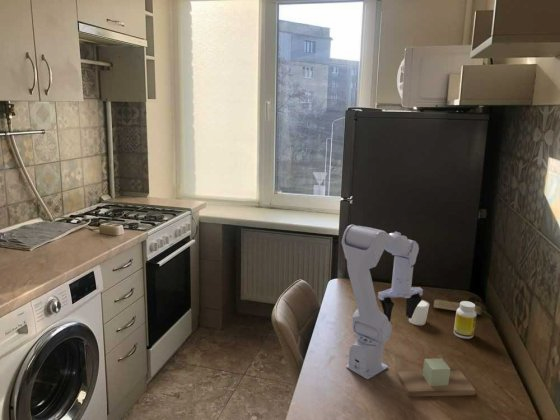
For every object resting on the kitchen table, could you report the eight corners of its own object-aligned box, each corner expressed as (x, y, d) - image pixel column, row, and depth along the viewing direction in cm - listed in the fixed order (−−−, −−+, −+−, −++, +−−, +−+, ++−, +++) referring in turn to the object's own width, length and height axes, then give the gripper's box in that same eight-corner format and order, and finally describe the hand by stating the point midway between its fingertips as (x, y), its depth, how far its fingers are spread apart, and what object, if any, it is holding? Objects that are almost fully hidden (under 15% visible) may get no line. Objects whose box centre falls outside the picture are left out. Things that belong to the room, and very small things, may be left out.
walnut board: (474, 395, 123) (475, 390, 122) (408, 396, 121) (408, 391, 121) (459, 375, 131) (459, 370, 131) (397, 376, 130) (397, 371, 130)
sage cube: (430, 386, 123) (432, 369, 122) (422, 375, 128) (424, 358, 127) (448, 385, 124) (450, 368, 123) (439, 374, 129) (441, 358, 128)
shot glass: (419, 315, 167) (421, 297, 165) (431, 324, 160) (433, 306, 159) (403, 318, 165) (404, 299, 163) (414, 327, 158) (416, 308, 157)
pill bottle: (475, 340, 151) (479, 309, 148) (455, 338, 152) (459, 306, 149) (471, 331, 157) (475, 301, 154) (452, 329, 158) (456, 298, 155)
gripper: (388, 284, 134) (384, 327, 138) (430, 279, 139) (425, 321, 142) (375, 275, 141) (372, 316, 144) (416, 271, 145) (412, 311, 149)
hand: (398, 318), depth 144 cm, fingers open, 7 cm apart
